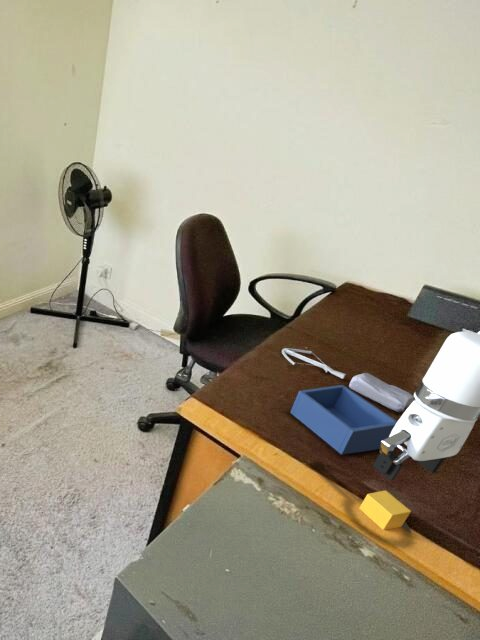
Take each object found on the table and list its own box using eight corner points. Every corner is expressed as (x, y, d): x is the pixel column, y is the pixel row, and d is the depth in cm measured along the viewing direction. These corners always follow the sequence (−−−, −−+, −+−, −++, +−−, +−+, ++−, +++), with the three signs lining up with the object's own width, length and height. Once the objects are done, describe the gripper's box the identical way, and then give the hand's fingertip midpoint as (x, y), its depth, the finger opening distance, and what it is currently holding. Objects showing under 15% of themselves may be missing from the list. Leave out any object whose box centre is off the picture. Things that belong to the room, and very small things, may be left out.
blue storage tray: (387, 447, 98) (401, 423, 95) (341, 455, 96) (353, 431, 93) (332, 406, 111) (342, 384, 108) (289, 413, 108) (299, 390, 105)
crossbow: (272, 358, 130) (274, 352, 130) (290, 347, 137) (292, 342, 136) (335, 385, 117) (337, 379, 117) (351, 372, 124) (353, 366, 123)
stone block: (357, 383, 122) (344, 386, 117) (366, 369, 120) (353, 372, 115) (409, 410, 112) (398, 416, 107) (420, 396, 111) (409, 401, 106)
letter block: (401, 526, 80) (411, 511, 78) (382, 530, 79) (392, 515, 77) (376, 505, 84) (385, 490, 82) (358, 508, 83) (367, 493, 81)
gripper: (434, 422, 65) (388, 494, 72) (516, 410, 68) (464, 481, 75) (383, 390, 72) (345, 459, 79) (459, 380, 75) (417, 447, 82)
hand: (403, 469), depth 77 cm, fingers open, 9 cm apart
